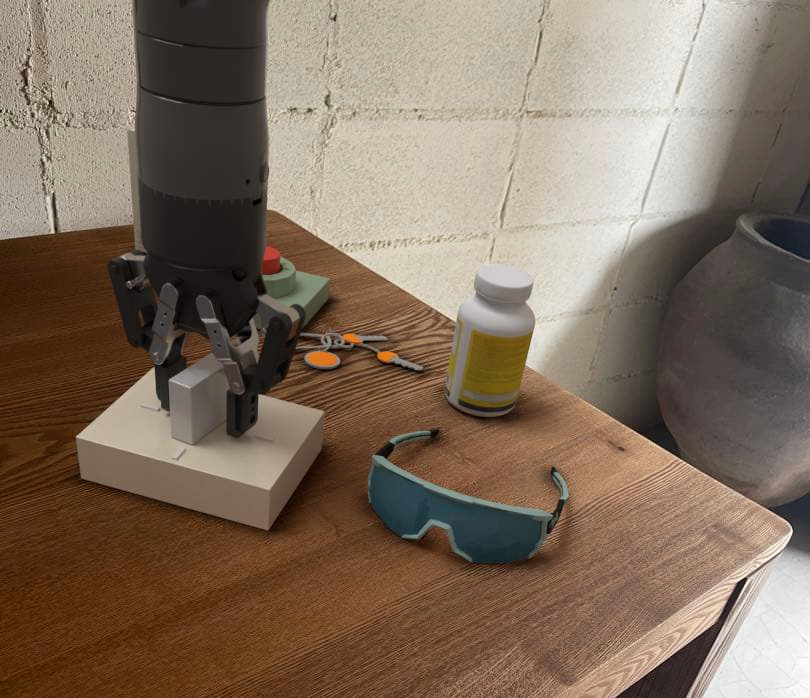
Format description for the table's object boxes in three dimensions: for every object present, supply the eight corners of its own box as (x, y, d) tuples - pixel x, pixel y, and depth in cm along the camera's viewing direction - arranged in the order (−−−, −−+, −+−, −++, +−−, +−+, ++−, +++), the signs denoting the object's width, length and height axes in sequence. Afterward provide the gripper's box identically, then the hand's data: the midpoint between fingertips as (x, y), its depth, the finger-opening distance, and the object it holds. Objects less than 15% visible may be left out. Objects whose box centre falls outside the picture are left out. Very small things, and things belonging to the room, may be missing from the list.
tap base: (80, 478, 60) (75, 434, 58) (156, 405, 69) (153, 364, 66) (268, 531, 59) (270, 487, 56) (321, 449, 67) (325, 409, 65)
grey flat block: (192, 445, 59) (190, 384, 56) (170, 437, 59) (167, 376, 56) (241, 409, 63) (242, 350, 60) (220, 401, 64) (220, 343, 61)
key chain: (283, 367, 76) (284, 359, 76) (281, 332, 82) (281, 323, 81) (424, 375, 78) (425, 367, 78) (412, 340, 84) (414, 332, 84)
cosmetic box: (170, 261, 90) (165, 138, 83) (132, 251, 91) (124, 128, 83) (200, 243, 95) (198, 125, 87) (164, 233, 96) (159, 116, 88)
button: (235, 272, 82) (236, 254, 81) (250, 259, 85) (251, 242, 84) (271, 280, 81) (272, 262, 80) (285, 267, 84) (286, 250, 83)
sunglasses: (337, 522, 60) (348, 459, 57) (410, 447, 72) (421, 392, 70) (530, 591, 57) (550, 528, 55) (571, 500, 69) (589, 445, 67)
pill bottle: (526, 419, 75) (558, 292, 68) (456, 422, 73) (482, 292, 66) (499, 381, 80) (526, 259, 72) (433, 383, 78) (455, 258, 70)
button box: (185, 311, 82) (184, 270, 80) (229, 274, 90) (229, 236, 87) (294, 338, 81) (296, 298, 78) (328, 298, 88) (331, 261, 86)
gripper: (60, 154, 50) (89, 409, 60) (274, 221, 46) (264, 479, 57) (144, 131, 55) (157, 368, 66) (340, 189, 52) (320, 429, 62)
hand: (207, 418), depth 61 cm, fingers open, 5 cm apart
